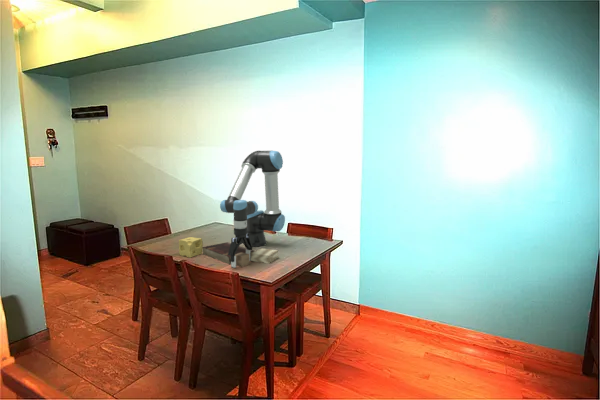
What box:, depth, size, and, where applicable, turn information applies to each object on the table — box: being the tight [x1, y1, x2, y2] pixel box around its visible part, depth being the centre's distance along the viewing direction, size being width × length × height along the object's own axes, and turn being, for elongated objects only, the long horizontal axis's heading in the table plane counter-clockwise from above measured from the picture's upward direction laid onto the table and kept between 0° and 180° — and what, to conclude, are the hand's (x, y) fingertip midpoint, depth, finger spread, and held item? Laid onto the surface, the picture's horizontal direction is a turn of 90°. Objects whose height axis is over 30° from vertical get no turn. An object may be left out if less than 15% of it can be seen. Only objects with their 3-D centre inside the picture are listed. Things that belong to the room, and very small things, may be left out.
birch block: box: [250, 248, 279, 264], centre depth 211 cm, size 12×12×5 cm
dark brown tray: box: [202, 242, 255, 265], centre depth 218 cm, size 29×19×5 cm, turn 46°
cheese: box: [178, 236, 204, 259], centre depth 219 cm, size 10×11×10 cm
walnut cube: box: [235, 252, 250, 268], centre depth 201 cm, size 6×6×6 cm
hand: (241, 263), depth 202 cm, fingers open, 13 cm apart
